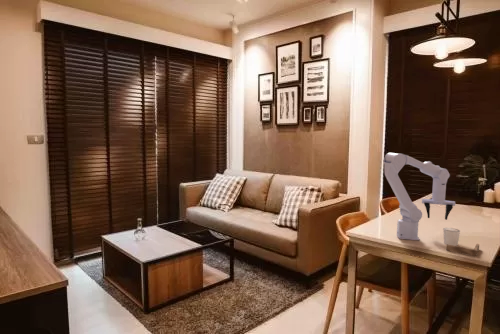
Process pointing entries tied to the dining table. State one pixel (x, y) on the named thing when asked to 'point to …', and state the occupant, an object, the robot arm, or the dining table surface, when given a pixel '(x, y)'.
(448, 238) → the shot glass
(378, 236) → the dining table surface
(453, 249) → the corner stop
